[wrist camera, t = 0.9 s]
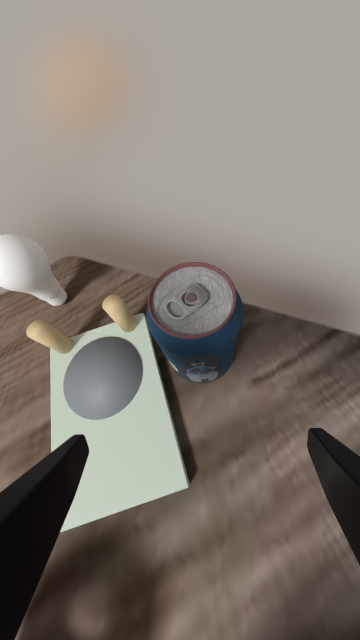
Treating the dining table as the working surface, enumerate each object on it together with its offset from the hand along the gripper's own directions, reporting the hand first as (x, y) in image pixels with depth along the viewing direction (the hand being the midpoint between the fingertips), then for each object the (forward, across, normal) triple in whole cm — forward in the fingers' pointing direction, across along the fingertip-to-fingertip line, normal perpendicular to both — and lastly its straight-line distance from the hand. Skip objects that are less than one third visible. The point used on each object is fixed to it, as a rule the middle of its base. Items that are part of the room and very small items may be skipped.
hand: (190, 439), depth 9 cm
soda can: (+16, 0, +4) cm, 16 cm away
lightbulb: (+22, +19, -2) cm, 29 cm away
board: (+12, +10, +8) cm, 17 cm away
